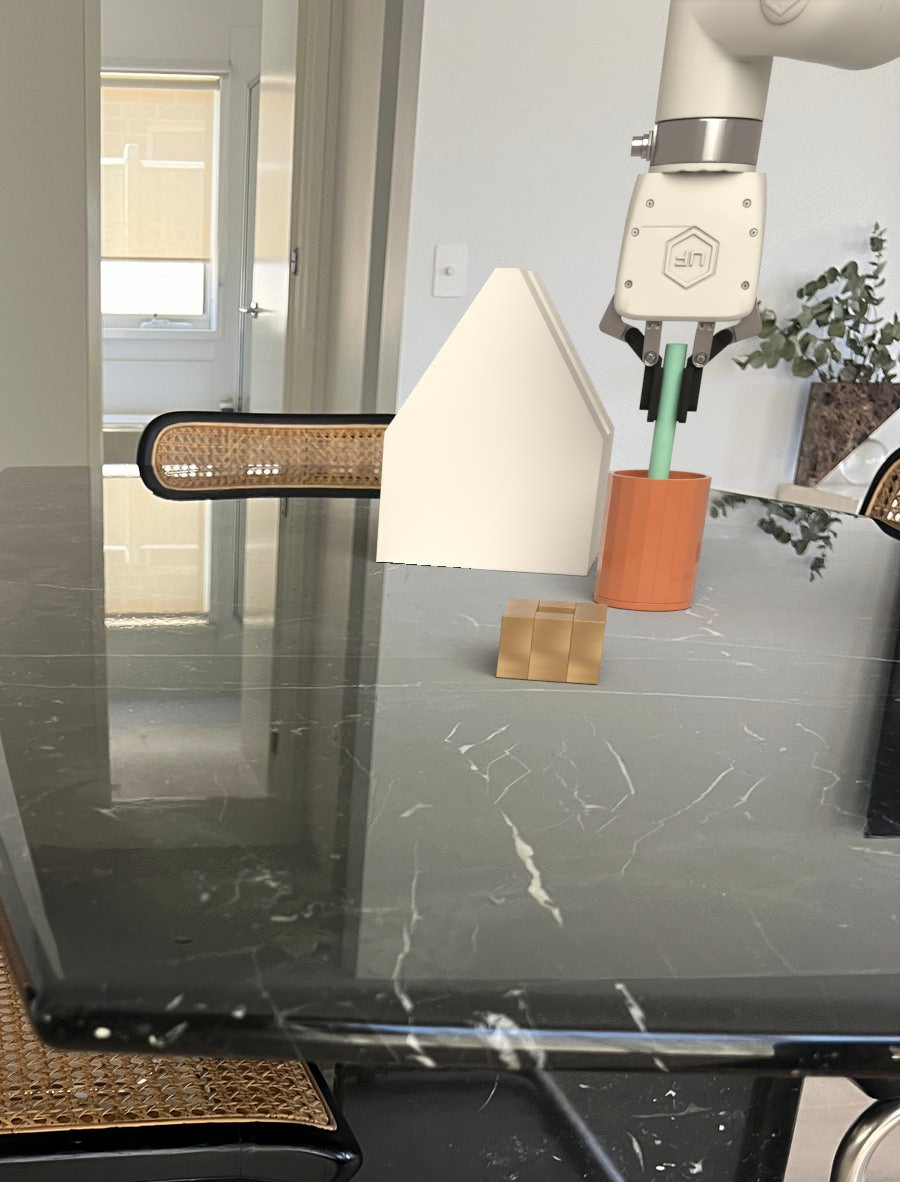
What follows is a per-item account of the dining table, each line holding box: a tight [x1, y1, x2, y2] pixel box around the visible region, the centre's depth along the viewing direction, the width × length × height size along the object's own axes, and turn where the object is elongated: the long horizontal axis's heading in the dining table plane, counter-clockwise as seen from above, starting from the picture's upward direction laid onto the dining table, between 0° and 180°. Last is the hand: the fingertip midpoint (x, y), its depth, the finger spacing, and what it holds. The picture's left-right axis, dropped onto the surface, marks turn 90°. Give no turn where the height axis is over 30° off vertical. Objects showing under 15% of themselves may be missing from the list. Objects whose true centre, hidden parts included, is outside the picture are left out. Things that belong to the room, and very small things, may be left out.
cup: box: [592, 468, 713, 612], centre depth 118 cm, size 8×8×10 cm
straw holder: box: [495, 597, 608, 685], centre depth 96 cm, size 6×6×4 cm
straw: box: [647, 342, 688, 479], centre depth 115 cm, size 2×2×14 cm
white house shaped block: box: [375, 267, 616, 577], centre depth 136 cm, size 19×15×25 cm
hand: (666, 419), depth 114 cm, fingers closed on straw, 1 cm apart
